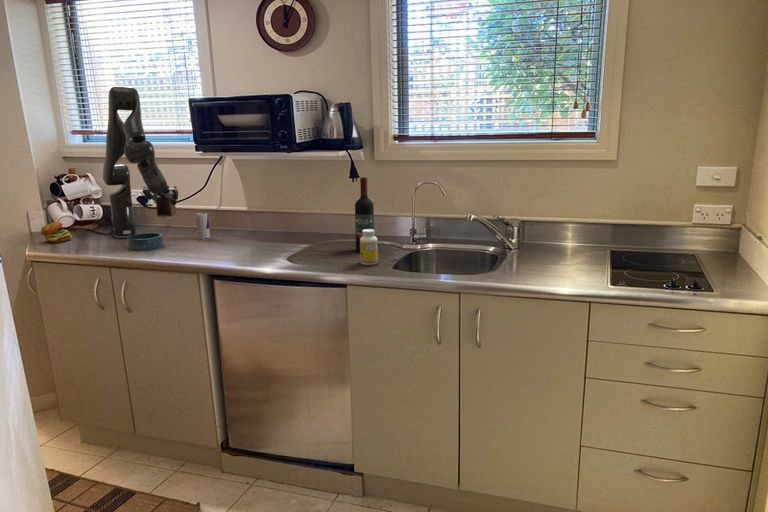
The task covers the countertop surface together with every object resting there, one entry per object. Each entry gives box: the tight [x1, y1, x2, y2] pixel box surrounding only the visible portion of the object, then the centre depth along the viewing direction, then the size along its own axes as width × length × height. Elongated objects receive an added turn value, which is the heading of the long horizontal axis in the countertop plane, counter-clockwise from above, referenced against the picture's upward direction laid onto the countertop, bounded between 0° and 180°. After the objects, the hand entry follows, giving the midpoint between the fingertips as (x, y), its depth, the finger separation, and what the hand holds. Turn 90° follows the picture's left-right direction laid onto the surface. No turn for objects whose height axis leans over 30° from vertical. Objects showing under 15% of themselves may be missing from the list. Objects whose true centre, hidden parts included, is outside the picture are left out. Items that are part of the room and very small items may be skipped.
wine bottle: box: [354, 176, 375, 253], centre depth 232 cm, size 8×8×30 cm
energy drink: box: [195, 212, 211, 241], centre depth 256 cm, size 5×5×12 cm
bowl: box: [126, 232, 164, 252], centre depth 242 cm, size 14×14×6 cm
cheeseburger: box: [40, 220, 72, 244], centre depth 257 cm, size 10×11×10 cm
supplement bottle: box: [359, 229, 379, 266], centre depth 214 cm, size 7×7×13 cm
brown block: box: [155, 196, 177, 218], centre depth 243 cm, size 6×6×8 cm
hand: (167, 203), depth 244 cm, fingers closed on brown block, 6 cm apart
